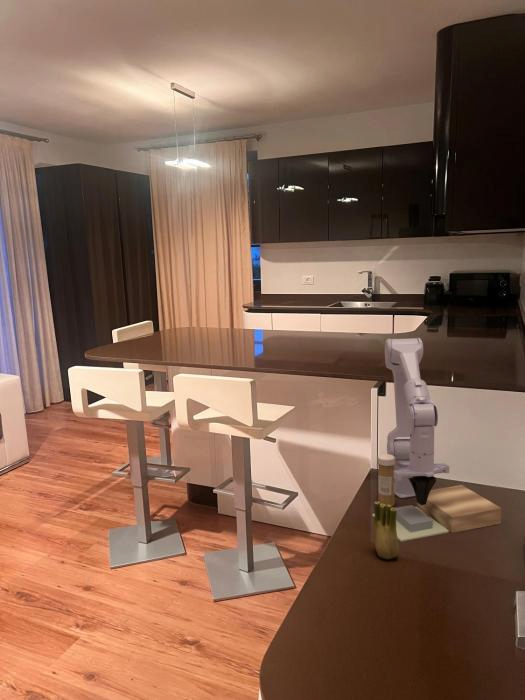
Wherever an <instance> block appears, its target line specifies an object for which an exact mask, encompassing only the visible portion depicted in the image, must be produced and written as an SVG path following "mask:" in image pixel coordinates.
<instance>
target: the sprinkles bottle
mask: <svg viewBox="0 0 525 700" xmlns="http://www.w3.org/2000/svg"><path fill="white" fill-rule="evenodd" d="M377 465H378V470H377V471H378V473H377V474H378V477H377V481H378V482H377V484H378V489H377V491H378V501H377V502H380V504H385V505H386V507H387V505H388V504H389V505H391V507H393V506H395V504H396V499H395V496H396V494H395V479H394V465H395V457H394V456H393V455H390V454H387V453H382V454H379V455H378V456H377Z"/></svg>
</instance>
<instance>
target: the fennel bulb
mask: <svg viewBox="0 0 525 700" xmlns="http://www.w3.org/2000/svg"><path fill="white" fill-rule="evenodd" d="M373 503H374V504H373V506H374V507H373V508H374V509H373V510H374V514H375V518H374V517H373V518H374V523H373V535H374V536H373V537H374V545H375V550H376V553H377V556H378V557H379V558H380V559H383V560H391V559H394V558H396V557H397V556H399V552H400V551H399V550H400V547H399V540H398V537H397V532H396V513H397V511H396V509H395V508H396V507H392V506H391V505H389V504H388V505H387V506H386V505H385V504H380V502H378V501H374V502H373Z"/></svg>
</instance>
